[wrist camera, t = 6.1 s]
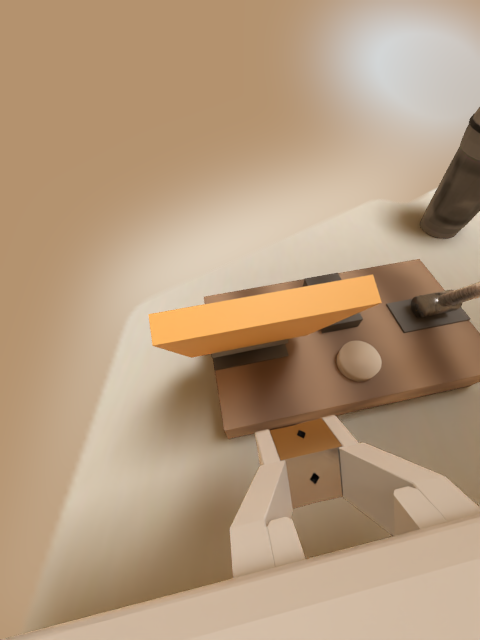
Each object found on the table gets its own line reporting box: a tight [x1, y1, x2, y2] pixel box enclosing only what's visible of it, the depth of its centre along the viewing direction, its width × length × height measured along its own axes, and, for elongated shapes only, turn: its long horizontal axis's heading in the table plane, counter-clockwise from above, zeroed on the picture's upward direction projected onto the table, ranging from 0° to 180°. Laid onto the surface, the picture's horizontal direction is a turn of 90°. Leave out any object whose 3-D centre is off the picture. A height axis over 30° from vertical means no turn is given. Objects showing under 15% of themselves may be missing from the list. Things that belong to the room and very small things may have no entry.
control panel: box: [204, 259, 480, 439], centre depth 23 cm, size 22×12×5 cm, turn 101°
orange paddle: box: [149, 275, 382, 358], centre depth 16 cm, size 9×2×11 cm, turn 101°
